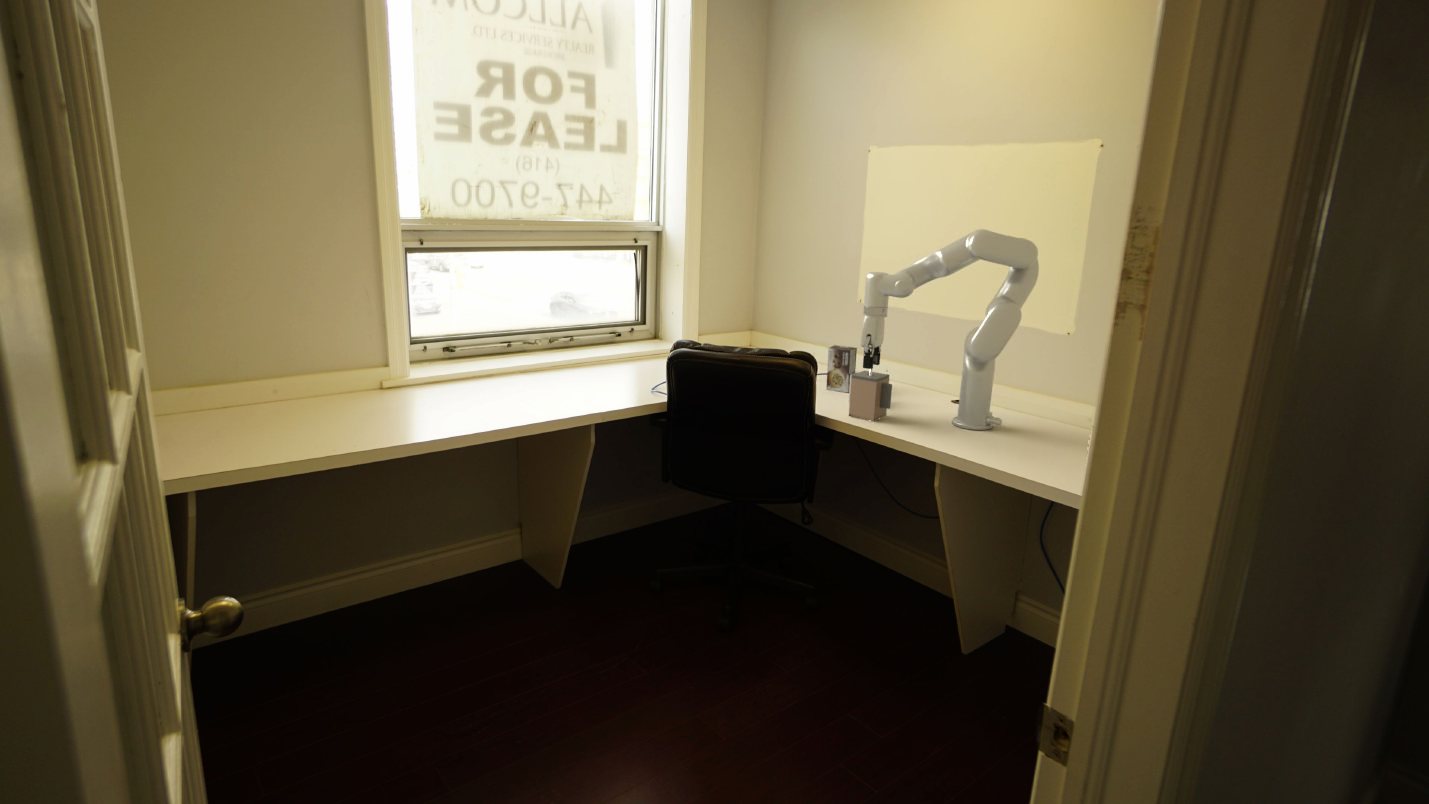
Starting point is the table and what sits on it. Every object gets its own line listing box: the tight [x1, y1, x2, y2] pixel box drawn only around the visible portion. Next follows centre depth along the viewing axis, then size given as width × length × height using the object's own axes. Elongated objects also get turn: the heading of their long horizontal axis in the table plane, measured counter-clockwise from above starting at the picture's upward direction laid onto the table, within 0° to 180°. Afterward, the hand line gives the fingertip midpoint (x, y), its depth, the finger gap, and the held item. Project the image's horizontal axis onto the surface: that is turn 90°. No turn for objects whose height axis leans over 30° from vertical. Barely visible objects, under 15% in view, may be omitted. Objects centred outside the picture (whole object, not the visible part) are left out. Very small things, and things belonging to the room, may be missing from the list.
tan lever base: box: [848, 370, 893, 422], centre depth 252 cm, size 12×9×14 cm
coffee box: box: [825, 344, 858, 394], centre depth 287 cm, size 9×6×16 cm
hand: (871, 366), depth 250 cm, fingers open, 6 cm apart
